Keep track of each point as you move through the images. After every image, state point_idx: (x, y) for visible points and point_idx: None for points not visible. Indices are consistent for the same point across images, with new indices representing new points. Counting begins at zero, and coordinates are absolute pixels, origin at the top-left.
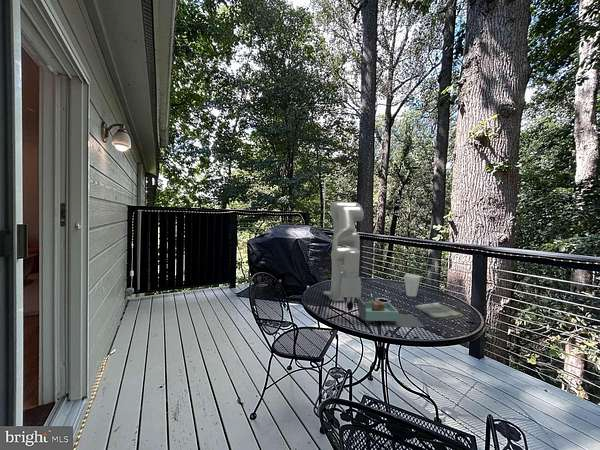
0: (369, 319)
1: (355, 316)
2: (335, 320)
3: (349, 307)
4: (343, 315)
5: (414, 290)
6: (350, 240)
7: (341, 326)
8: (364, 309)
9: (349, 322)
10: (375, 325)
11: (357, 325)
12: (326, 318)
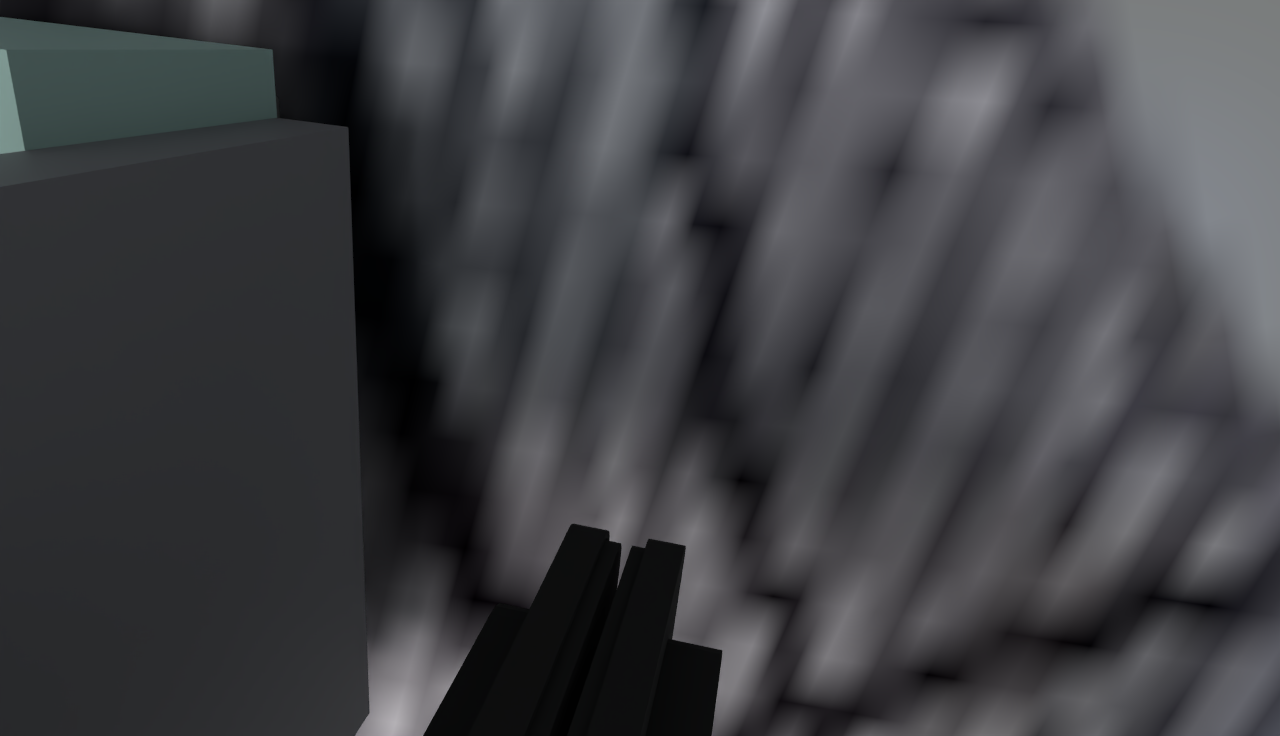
0: (139, 35)
1: (474, 589)
2: (1074, 450)
3: (641, 613)
4: (734, 682)
5: None
6: None
7: (1091, 8)
8: (25, 164)
9: (728, 280)
10: (111, 28)
11: (570, 57)
12: (1275, 602)
